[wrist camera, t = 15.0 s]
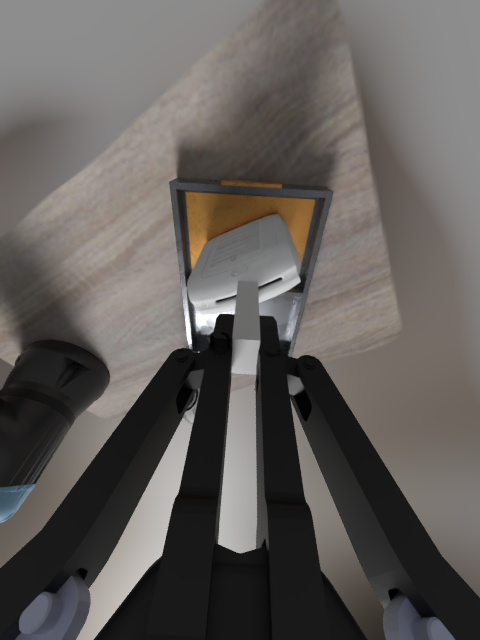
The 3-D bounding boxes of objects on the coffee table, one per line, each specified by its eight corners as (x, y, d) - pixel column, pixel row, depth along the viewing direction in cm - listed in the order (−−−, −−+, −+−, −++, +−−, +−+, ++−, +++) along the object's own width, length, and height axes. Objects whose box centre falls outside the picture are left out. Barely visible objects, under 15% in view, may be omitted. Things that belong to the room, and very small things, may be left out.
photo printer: (215, 272, 31) (198, 333, 21) (199, 241, 29) (172, 294, 19) (292, 242, 28) (314, 296, 18) (281, 206, 26) (301, 246, 16)
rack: (192, 341, 40) (189, 353, 38) (176, 174, 26) (168, 178, 23) (288, 346, 40) (290, 359, 38) (326, 183, 26) (334, 188, 23)
